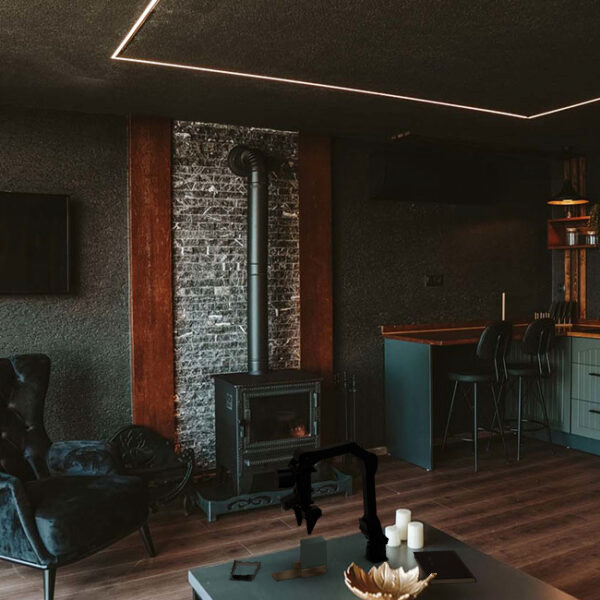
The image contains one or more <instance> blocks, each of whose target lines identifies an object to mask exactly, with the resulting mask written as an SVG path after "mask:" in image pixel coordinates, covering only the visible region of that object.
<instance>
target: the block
mask: <svg viewBox="0 0 600 600" xmlns="http://www.w3.org/2000/svg"><path fill="white" fill-rule="evenodd" d="M299 539H300V538H299ZM327 543H328V542H327V540H326V539H325V538H324V537H323V536H321V535H320V536H319V535H318V536H313V537H307V538H302V539H300V540H299V546H300V547H299V551H300V553H299V554H300V557H299V558H300V559H299V561H300V560H301V569H307V568H312V567H318V566H323V565H325V566H326V571H327V570H328V551H327V549H328V548H327V547H328V545H327Z"/></svg>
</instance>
